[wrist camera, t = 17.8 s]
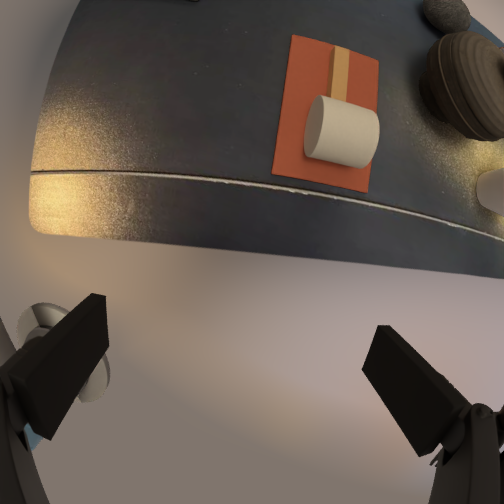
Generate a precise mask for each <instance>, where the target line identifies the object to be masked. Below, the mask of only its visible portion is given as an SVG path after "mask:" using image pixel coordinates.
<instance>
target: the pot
mask: <svg viewBox="0 0 504 504" xmlns="http://www.w3.org/2000/svg"><path fill="white" fill-rule="evenodd" d="M426 68H427V71H426V72H424V73H423V74H422V75H421V77H420V80H419V91H420V94H421V97H422V99H423V102H424V104H425V105H426V107H427V109H428V110H429V111H430V113H431V114H432V115H433V116H434V117H435V118H436V119H438V120H439V121H441V122H444V123H451V125H452V126H453V127H454V128H455V129H456V130H457V131H459V132H460V133H461V134H463V135H464V136H465V137H466V138H469V139H475V140H478V141H492V142H494V141H497V140H499V139H501V138H504V54H503V52H502V51H501V50H500V49H499V48H498V47H497V46H496V45H495V44H493V43H492V42H491V41H490V40H488V39H487V38H485V37H484V36H482V35H480V34H478V33H475V32H472V31H461V32H456V33H452V34H447V35H445V36H443V37H442V38H441V39H439V40H437V41H436V42H435V43H434V45H433V46H432V47H431V48H430V50H429V52H428V54H427V61H426Z"/></svg>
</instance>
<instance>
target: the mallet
mask: <svg viewBox="0 0 504 504" xmlns="http://www.w3.org/2000/svg"><path fill="white" fill-rule="evenodd" d="M348 68H349V50H348V49H345V48H342V47H339V46H336V45H335V46H334V48H333V49H332V50H331V51H330V63H329V74H328V85H327V94H326V96H322V95H318V96H317V97H316V98H315V99H314V101H313V103H312V105H311V108H310V110H309V114H308V117H307V122H306V127H305V134H304V151H305V155H306V156H307V157H311V158H316V159H320V160H325V161H329V162H334V163H338V164H342V165H346V166H350V167H354V168H358V169H362V168H364V167H365V166H367V165H368V164H369V162H370V161H371V159H372V157H373V155H374V153H375V151H376V148H377V144H378V139H379V121H378V117H377V115H376V113H375V112H374V111H372V110H369V109H366V108H363V107H360V106H357V105H354V104H351V103H347V102H346V94H347V82H348Z"/></svg>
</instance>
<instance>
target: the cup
mask: <svg viewBox="0 0 504 504" xmlns="http://www.w3.org/2000/svg"><path fill="white" fill-rule="evenodd" d="M476 193H477V198H478V200H479V203H480V204H481V205H482V206H483V207H485V208H487V209H489V210H491V211H493V212H495V213H497V214H499V215H501V216H503V217H504V168H500V169H496V170H493V171H489V172H485V173H482V174H481V175H480V176H479V177H478V180H477V185H476Z"/></svg>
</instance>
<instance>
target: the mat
mask: <svg viewBox="0 0 504 504" xmlns="http://www.w3.org/2000/svg"><path fill="white" fill-rule="evenodd" d="M334 46H335V45H331V44H328V43H325V42H321V41H317V40H313V39H310V38H305V37H301V36H297V35H292V36H291V43H290V50H289V57H288V64H287V70H286V77H285V84H284V91H283V98H282V104H281V111H280V118H279V125H278V131H277V138H276V145H275V151H274V158H273V164H272V171H271V174H274V175H280V176H286V177H291V178H297V179H302V180H307V181H312V182H317V183H322V184H327V185H332V186H337V187H341V188H346V189H350V190H354V191H359V192H363V193H367V190H368V184H369V177H370V170H371V162H372V159H371V161H370V162H369V164H368V165H367V166H365V167H364V168H362V169H358V168H354V167H350V166H346V165H342V164H338V163H334V162H329V161H325V160H320V159H316V158H311V157H307V156H306V155H305V151H304V134H305V127H306V122H307V117H308V114H309V110H310V108H311V105H312V103H313V101H314V99H315V98H316V97H317V96H318V95H322V96H326V94H327V85H328V74H329V63H330V51H331V50H332V49H333V48H334ZM378 68H379V61H378V60H375V59H372V58H370V57H367V56H365V55H362V54H359V53H356V52H353V51H350V50H349V68H348V82H347V94H346V102H347V103H351V104H354V105H357V106H360V107H363V108H366V109H369V110H372V111H374V112H375V113H376V111H377V95H378Z"/></svg>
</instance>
